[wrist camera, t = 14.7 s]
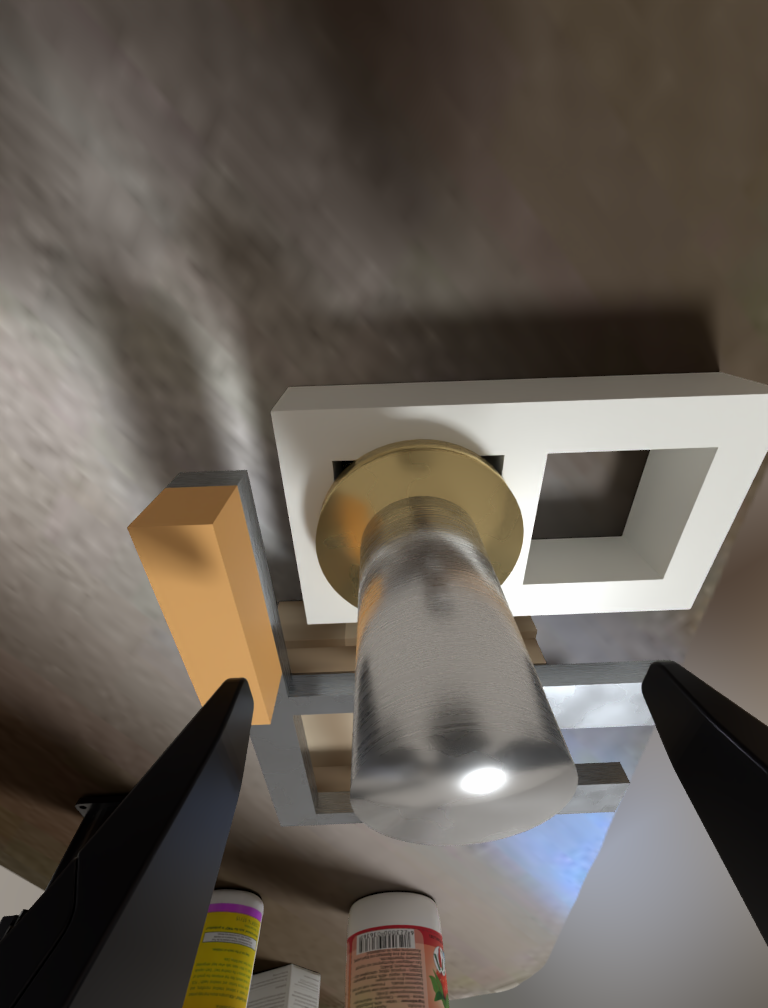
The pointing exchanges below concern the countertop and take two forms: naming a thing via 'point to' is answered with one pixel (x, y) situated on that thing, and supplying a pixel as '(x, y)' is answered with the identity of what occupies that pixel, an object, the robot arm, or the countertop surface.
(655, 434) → the white hollow block
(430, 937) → the fruit juice
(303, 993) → the skincare box
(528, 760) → the flanged silver cylinder
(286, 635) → the socket block
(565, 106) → the countertop surface
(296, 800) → the key plate
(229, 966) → the supplement bottle
